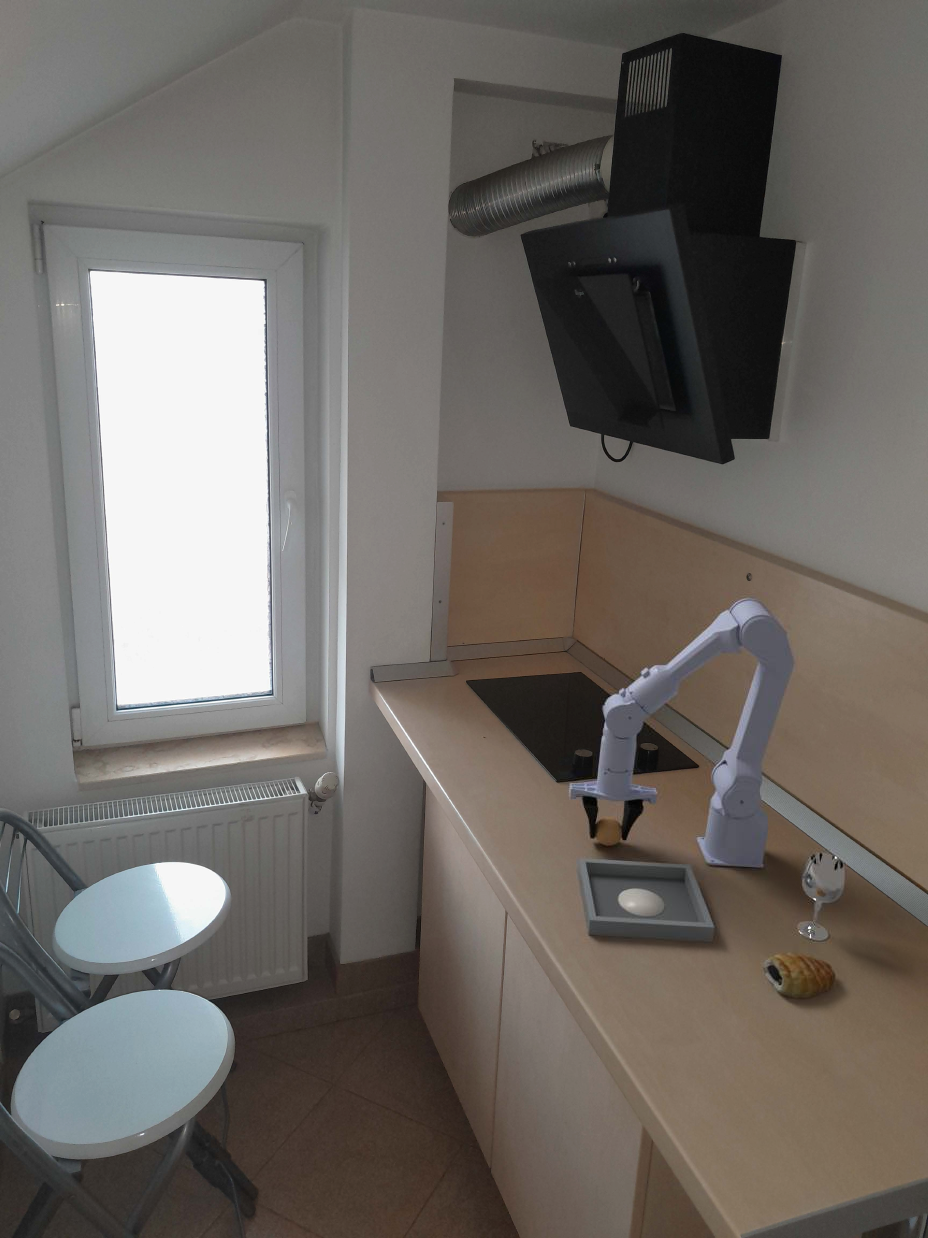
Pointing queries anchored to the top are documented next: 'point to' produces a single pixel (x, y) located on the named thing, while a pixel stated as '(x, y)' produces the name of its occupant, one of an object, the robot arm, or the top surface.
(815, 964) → the pastry
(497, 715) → the top surface
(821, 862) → the wineglass
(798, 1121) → the top surface
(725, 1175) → the top surface
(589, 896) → the grey serving tray
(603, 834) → the ball
